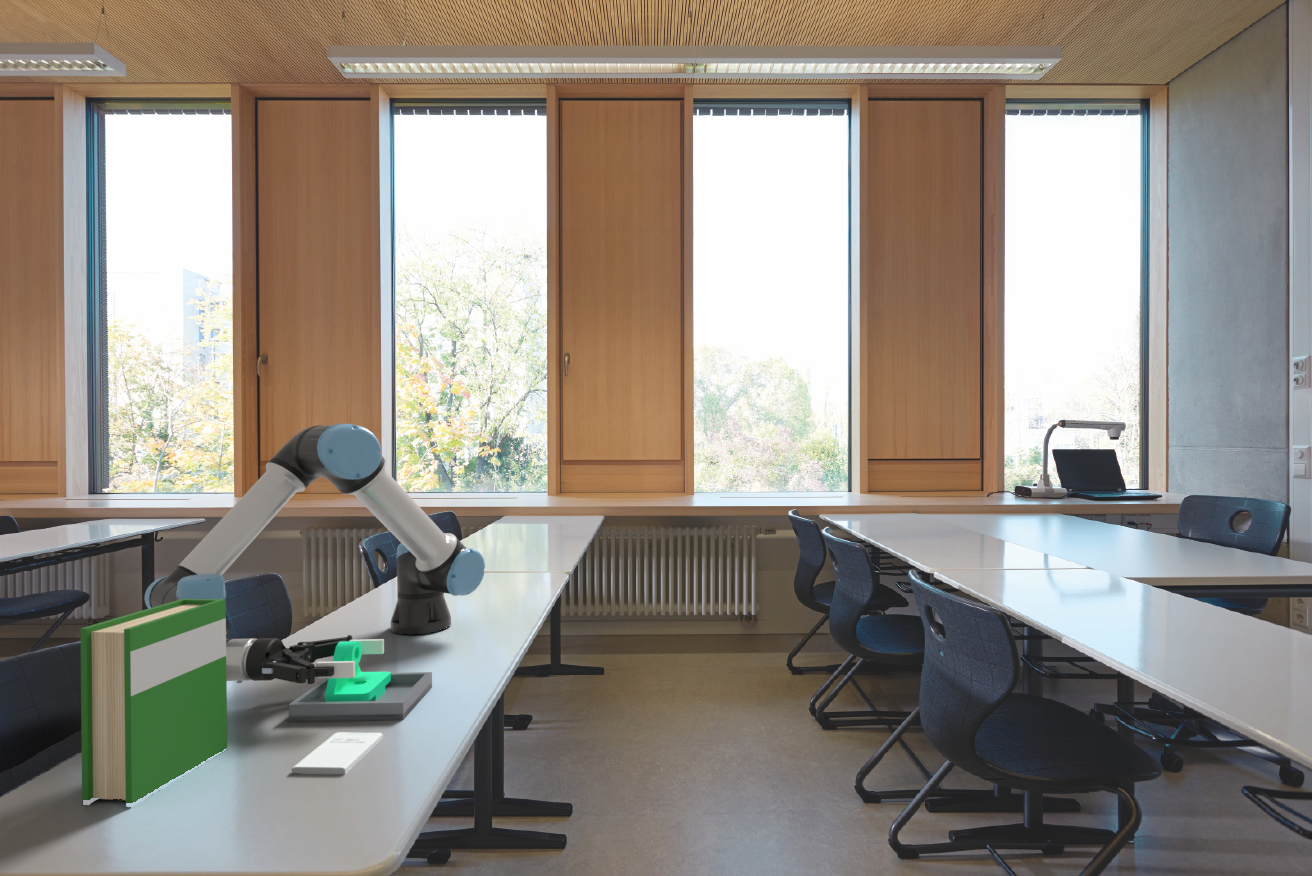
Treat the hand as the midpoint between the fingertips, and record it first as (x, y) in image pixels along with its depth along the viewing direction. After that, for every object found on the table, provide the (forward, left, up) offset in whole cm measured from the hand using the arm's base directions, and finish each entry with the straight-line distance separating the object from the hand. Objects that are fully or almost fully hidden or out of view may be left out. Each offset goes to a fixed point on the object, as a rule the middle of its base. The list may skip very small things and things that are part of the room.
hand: (369, 657), depth 129 cm
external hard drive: (+21, +4, -9) cm, 24 cm away
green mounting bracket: (-1, -2, -8) cm, 8 cm away
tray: (0, -1, -9) cm, 9 cm away
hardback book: (+27, -20, -9) cm, 35 cm away
